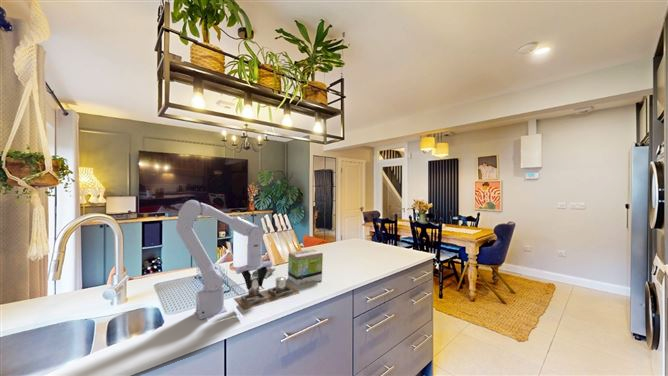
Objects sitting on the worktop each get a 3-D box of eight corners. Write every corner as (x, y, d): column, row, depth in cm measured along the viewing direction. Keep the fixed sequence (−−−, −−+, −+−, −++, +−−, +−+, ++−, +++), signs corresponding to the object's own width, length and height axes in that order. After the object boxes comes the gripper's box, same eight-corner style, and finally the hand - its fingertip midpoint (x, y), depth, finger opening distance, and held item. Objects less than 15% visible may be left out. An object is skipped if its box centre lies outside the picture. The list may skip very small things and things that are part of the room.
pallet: (243, 313, 97) (243, 306, 97) (233, 302, 106) (233, 295, 106) (300, 296, 112) (300, 290, 112) (287, 287, 122) (287, 282, 122)
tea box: (297, 287, 122) (297, 257, 122) (287, 281, 130) (287, 252, 129) (322, 280, 131) (323, 252, 131) (311, 275, 139) (312, 248, 139)
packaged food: (275, 273, 141) (275, 264, 141) (267, 281, 129) (266, 272, 129) (260, 273, 142) (260, 264, 142) (250, 280, 131) (250, 271, 131)
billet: (278, 295, 110) (278, 281, 110) (273, 291, 113) (273, 278, 113) (287, 292, 113) (287, 279, 113) (282, 289, 116) (282, 276, 116)
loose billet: (249, 295, 103) (249, 280, 103) (247, 292, 107) (246, 277, 107) (260, 293, 105) (260, 278, 105) (257, 289, 109) (257, 275, 109)
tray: (238, 298, 109) (238, 295, 109) (229, 289, 119) (229, 286, 119) (264, 291, 117) (264, 288, 117) (254, 283, 126) (254, 280, 126)
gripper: (240, 259, 98) (239, 295, 98) (275, 253, 107) (274, 286, 107) (234, 255, 103) (234, 289, 103) (267, 250, 112) (267, 281, 112)
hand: (254, 287), depth 105 cm, fingers closed on loose billet, 4 cm apart
